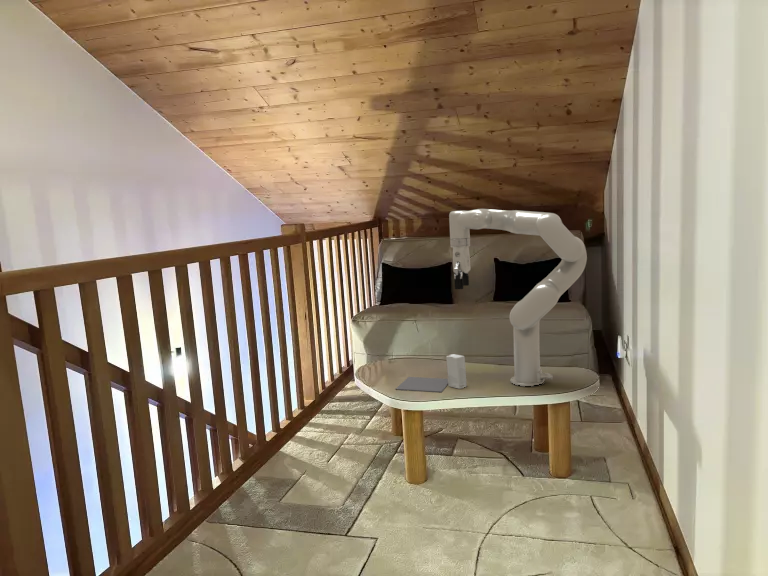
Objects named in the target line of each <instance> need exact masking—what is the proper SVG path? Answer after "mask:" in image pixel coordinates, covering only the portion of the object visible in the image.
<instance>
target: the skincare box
mask: <svg viewBox="0 0 768 576" xmlns="http://www.w3.org/2000/svg"><path fill="white" fill-rule="evenodd" d="M465 357H466V356H464V355H461V354H456V353H451V354H449V355H445V358H446V359H445V361H446V368H447V379H448V385H447V386H448V387H451V388H456V389H459V390H462V389H465V388H467V386H468V385H467V373H466V372H467V371H466V369H467V368H466V358H465ZM464 387H465V388H464Z"/></svg>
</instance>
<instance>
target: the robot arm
mask: <svg viewBox="0 0 768 576" xmlns="http://www.w3.org/2000/svg"><path fill="white" fill-rule="evenodd" d="M448 217H449V218H448V221H449V241H450V242H449V244H450V248H452V269H453V271H452V272H453V274H454V275H453V276H454V279H453V282H454V289H455V290H463V289H464V287H465V286H470V281H469V280H470V279H469V278H470V277H469V272H470V271H471V269H472V268H471V267H472V266H471V258H470V257H471V256H470V247H471V235H470V231H471V230H482V229H487V230H489V229H491V230H500V231H501V230H502V231H507V232H510V233H512V234H515V235H528V236H530V235H531V236H540V237H541V238H542V239H543V241H544V242H545V243H546V244H547V245H548V246H549V247H550V249H552V251H553V253H555V254H556V255H557V256H558V257H559V258H560V259H561V261H560V262H559V263H558V265H557V266H555V267H554V269H553V270H552V271H550V273H548V275H547V276H546V277H544V278H543V279H542V280H541V281H539V282H538V283H536V285H535V286H534V287H533V288H532V289H531V290H530V291H529V292H528V293H527V294H526V295H525V296H524V297H523V298H522V299H520V300H519V301H517V302H516V304H514V306H513V307H512V309H510V313H509V322H510V324H511V326H512V327H513V332H512V333H513V362H514V363H513V364H514V369H513V370H514V372H513V373H514V376H512V377H511V378H510V383H511V384H512V383H513V384H512V385H514V384H515V386H518V385H520V386H519V387H525V386H531V387H534V386H533V385H539V384H542V383H543V382H544V381H545V380H553V373H552V374H551V373H550V372H544V371H543V370H542V368H541V357H540V356H541V355H540V354H541V353H540V352H541V351H540V349H541V348H540V321H541V319H542V318H544V317H545V315H547V314H548V313H549V312H550V311H551V310H552V309H553V308H554V307H555V306H556V305H557V303H558V301H559V299H560V298H561V296H562V295H564V293H565V292H566V291H567V290H568V289H569V288H571V286H572V285H574V284H575V282H577V280H578V279H579V278H580V277H581V275H582V274H583V273H584V270H585V268H586V265H587V260H588V257H587V255H588V254H587V250H586V249H587V248H586V245H585V244H584V242H583V240H582V239H580V238H579V237H577V236H575V235H574V234H573V233H572V232H571V231H570V230H569V229H568V228H567V227H566V225H564V223H563V221H562V219H561V218H560V216H559V215H558V214H556V213H554V212H544V211H530V210H517V209H515V210H514V209H512V210H506V209H505V210H504V209H503V210H502V209H489V208H477V209H471V210H452V211H450V212H449V215H448ZM544 383H545V382H544ZM544 383H543V384H544ZM543 384H542V385H543ZM539 386H540V385H539Z"/></svg>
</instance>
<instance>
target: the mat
mask: <svg viewBox="0 0 768 576" xmlns="http://www.w3.org/2000/svg"><path fill="white" fill-rule="evenodd" d="M447 386H449V385H448V378H443V377H442V378H439V377H419V376H408V377H407V378H406V379H404V381H402V382H401V383H400V384H399V385H398V386H397V387H396V388H395V390H396V389H398V390H397V391H407V390H409V391H411V392H427V393H443V391H444V390H445V389H446V388H447Z"/></svg>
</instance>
